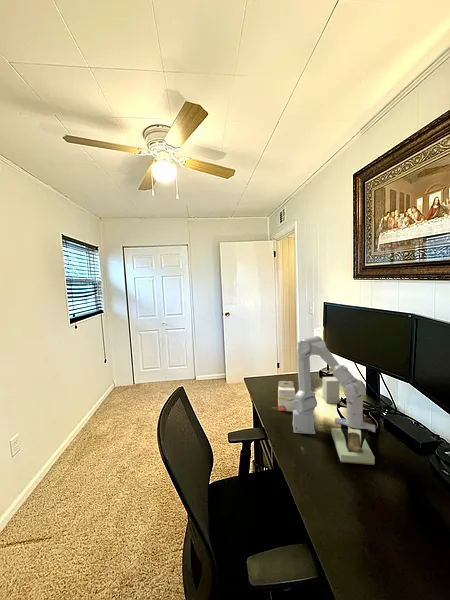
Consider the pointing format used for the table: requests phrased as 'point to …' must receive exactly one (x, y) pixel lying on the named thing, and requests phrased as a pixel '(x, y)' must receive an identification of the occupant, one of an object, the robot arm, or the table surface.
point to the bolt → (367, 420)
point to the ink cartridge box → (286, 396)
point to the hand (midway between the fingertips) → (354, 445)
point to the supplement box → (330, 390)
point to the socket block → (343, 449)
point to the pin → (354, 442)
